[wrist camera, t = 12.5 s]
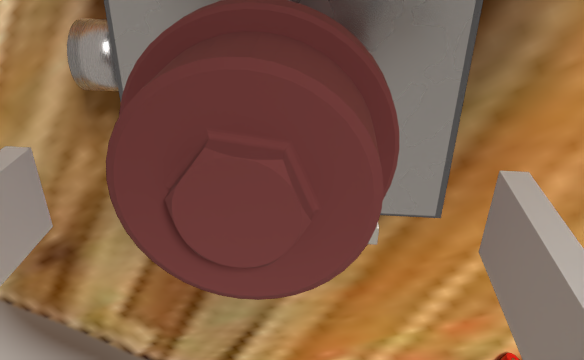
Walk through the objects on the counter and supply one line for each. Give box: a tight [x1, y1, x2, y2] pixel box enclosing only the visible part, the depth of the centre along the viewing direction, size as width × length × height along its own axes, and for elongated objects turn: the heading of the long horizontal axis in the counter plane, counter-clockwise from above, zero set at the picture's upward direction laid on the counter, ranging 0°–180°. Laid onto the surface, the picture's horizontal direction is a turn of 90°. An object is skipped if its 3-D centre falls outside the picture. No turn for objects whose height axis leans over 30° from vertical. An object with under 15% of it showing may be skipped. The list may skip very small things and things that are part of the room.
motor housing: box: [67, 0, 483, 244], centre depth 26 cm, size 16×21×10 cm
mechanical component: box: [106, 0, 399, 300], centre depth 19 cm, size 12×10×10 cm
